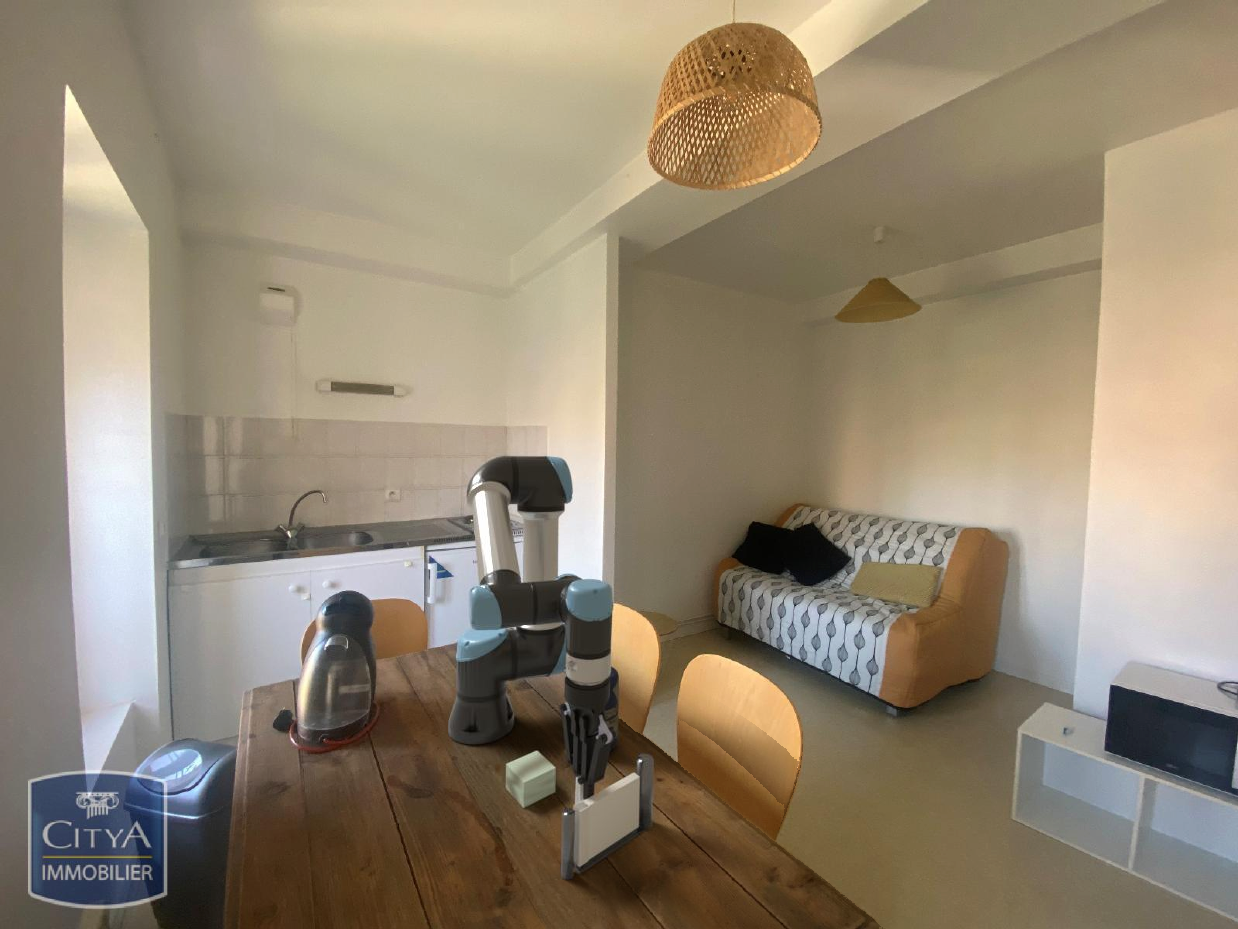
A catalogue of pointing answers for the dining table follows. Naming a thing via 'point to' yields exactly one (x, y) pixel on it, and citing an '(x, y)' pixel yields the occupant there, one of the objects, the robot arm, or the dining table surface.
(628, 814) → the gate
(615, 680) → the canister
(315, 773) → the dining table surface
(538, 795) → the pale green block
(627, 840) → the gate frame
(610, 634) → the robot arm
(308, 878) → the dining table surface
